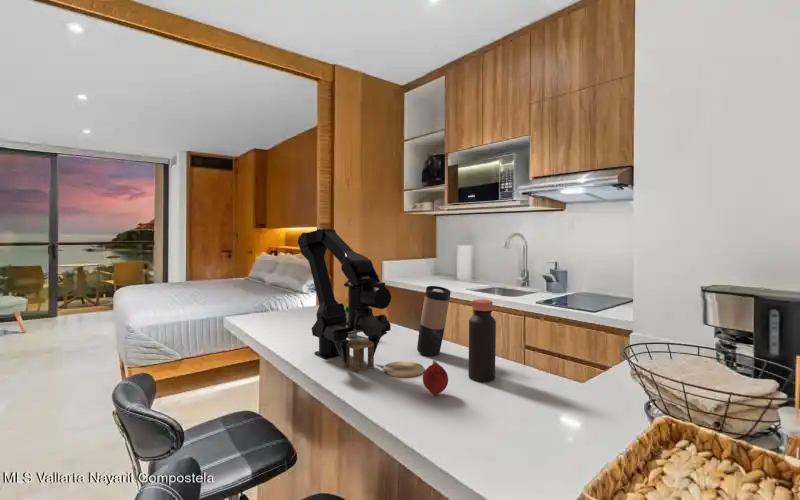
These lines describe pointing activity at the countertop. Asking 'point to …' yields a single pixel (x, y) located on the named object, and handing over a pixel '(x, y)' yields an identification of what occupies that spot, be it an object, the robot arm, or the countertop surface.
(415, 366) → the trivet
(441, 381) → the onion
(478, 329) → the bottle
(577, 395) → the countertop surface
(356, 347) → the tan block with prongs
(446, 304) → the travel mug
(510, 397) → the countertop surface
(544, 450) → the countertop surface
